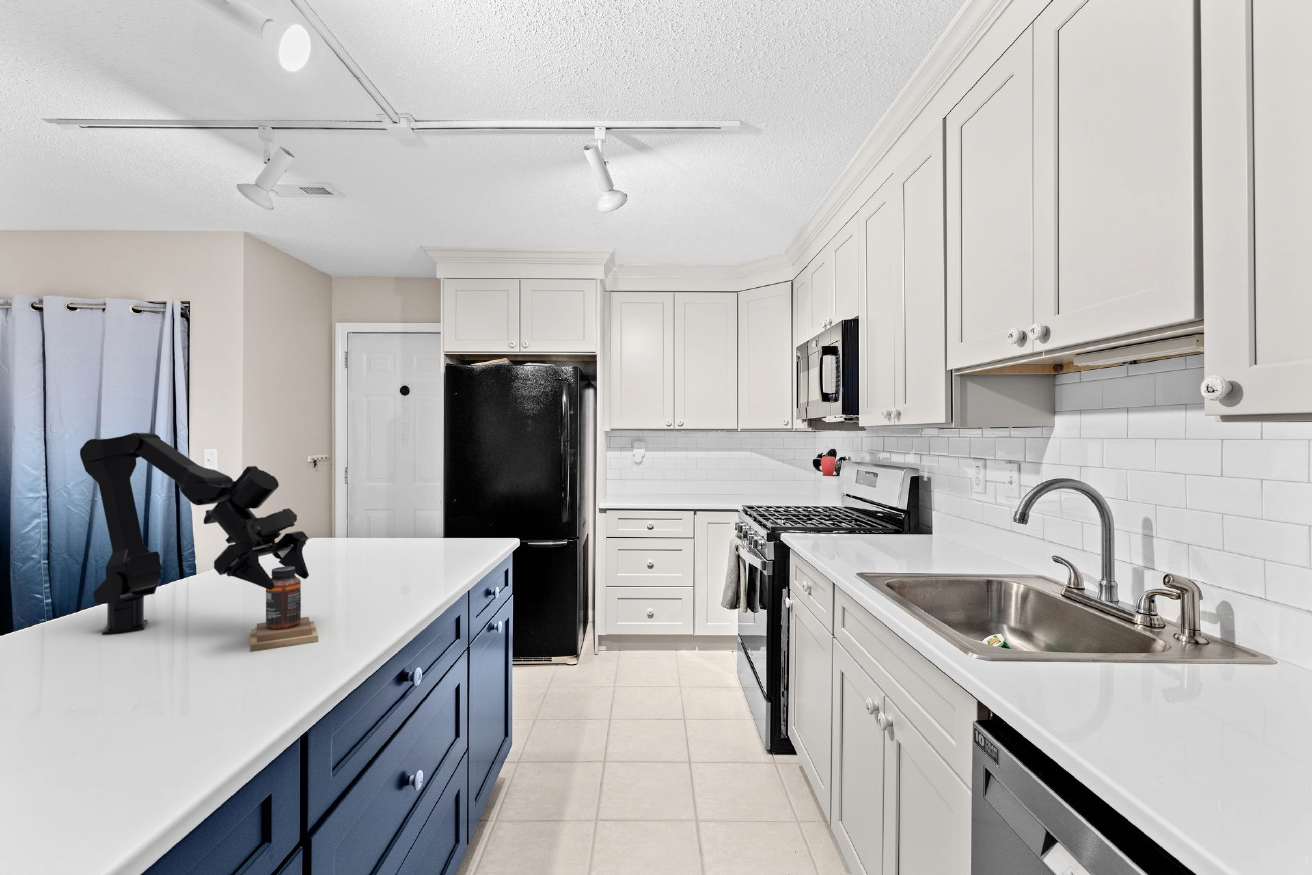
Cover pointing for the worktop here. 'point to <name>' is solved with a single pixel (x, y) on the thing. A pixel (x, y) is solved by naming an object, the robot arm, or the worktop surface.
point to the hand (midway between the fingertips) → (290, 582)
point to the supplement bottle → (283, 599)
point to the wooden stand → (283, 635)
